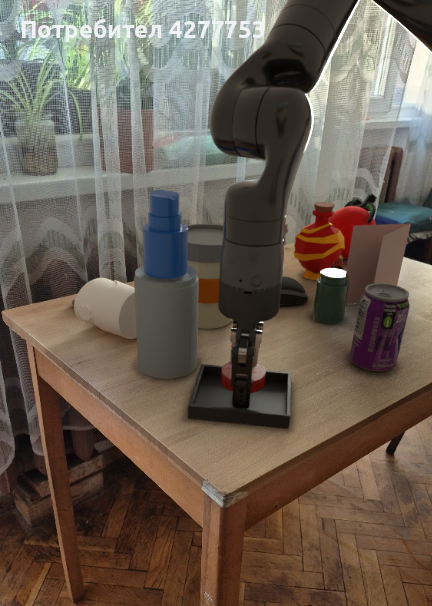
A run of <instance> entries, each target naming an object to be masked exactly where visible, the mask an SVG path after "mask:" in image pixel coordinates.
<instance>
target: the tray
mask: <svg viewBox="0 0 432 606" xmlns="http://www.w3.org/2000/svg"><path fill="white" fill-rule="evenodd" d="M223 366H224V365H216V364H204V363H201V364H200V366H199V370H198V373H197V376H196V379H195V382H194V386H193V389H192V392H191V395H190V399H189V401H188V403H187V404H188V405H187V420H188V419H189V420H197V421H198V420H199V421H208V422H218V423H225V424H227V423H228V424H235V425H236V424H237V425H245V426H256V427H257V426H258V427H266V428H267V427H268V428H277V429H286V430H289V429H290V422H291V411H292V410H291V409H292V406H291V405H292V372H291V371H281V370H280V371H279V370H270V369H265V371H266V375H265V385H264V387H263V388H262V389H260V390H259V391H256V392H253V393H250V404H249V408H247V409H243V408H235V407H233V405H232V401H233V391H230V390H228V389H226V388H225V387H224V386H223V385H222V383H221V373H222V367H223Z"/></svg>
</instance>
